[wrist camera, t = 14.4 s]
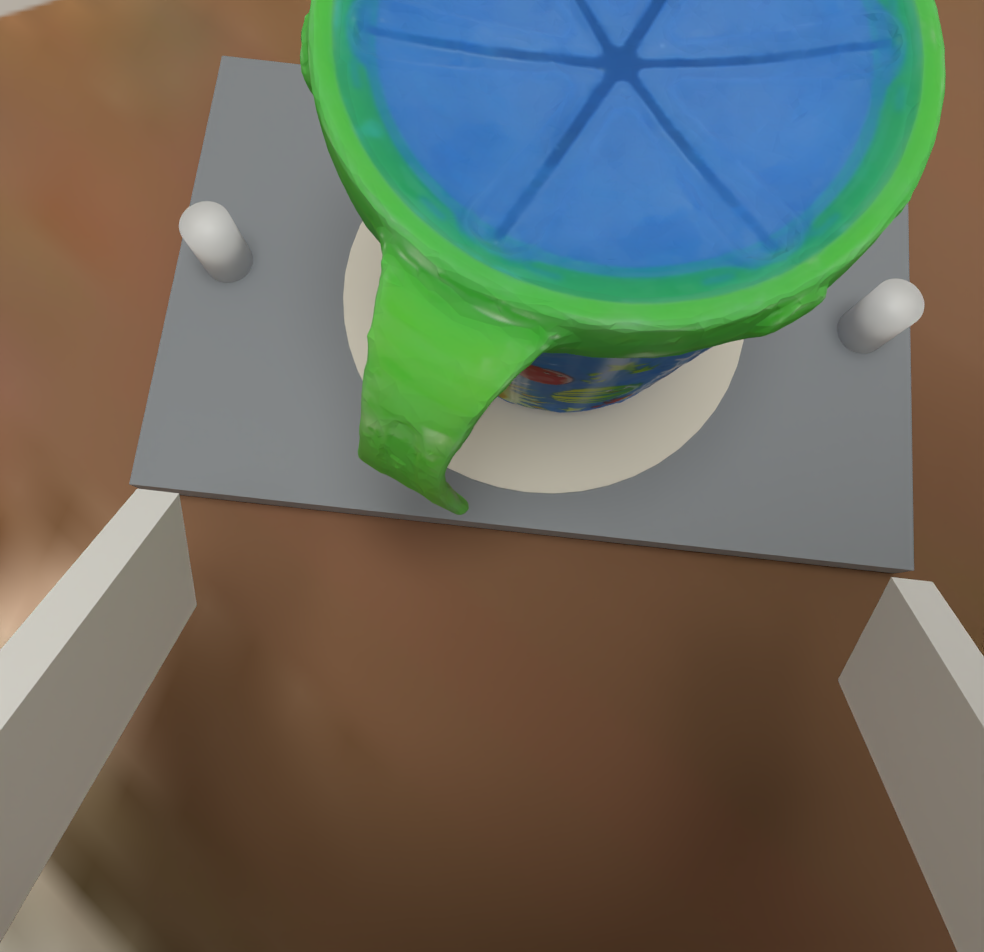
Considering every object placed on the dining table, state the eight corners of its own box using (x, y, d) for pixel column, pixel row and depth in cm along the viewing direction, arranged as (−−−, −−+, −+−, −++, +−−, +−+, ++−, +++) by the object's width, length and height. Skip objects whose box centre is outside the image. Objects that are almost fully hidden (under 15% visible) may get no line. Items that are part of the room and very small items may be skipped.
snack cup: (547, 624, 20) (625, 615, 10) (248, 398, 21) (44, 182, 11) (842, 211, 23) (1135, -120, 13) (566, 32, 24) (635, -403, 14)
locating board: (889, 153, 24) (946, 87, 21) (893, 573, 21) (961, 563, 18) (232, 79, 24) (199, 2, 21) (145, 490, 21) (92, 468, 18)
